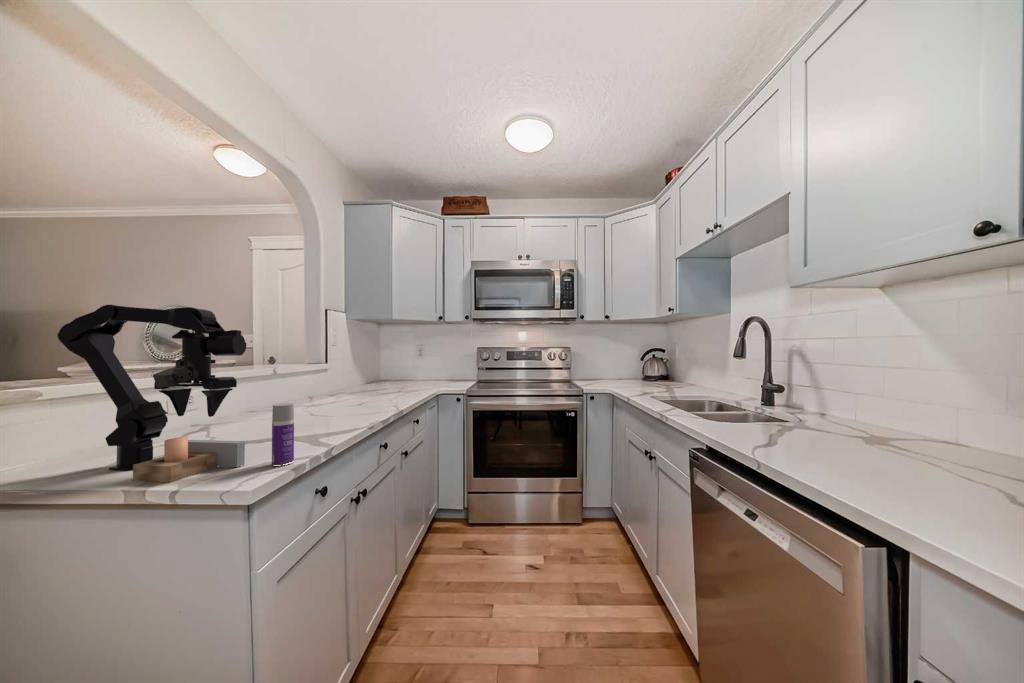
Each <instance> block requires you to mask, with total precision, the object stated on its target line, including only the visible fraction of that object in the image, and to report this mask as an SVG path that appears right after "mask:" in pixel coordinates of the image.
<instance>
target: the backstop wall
mask: <svg viewBox="0 0 1024 683" xmlns="http://www.w3.org/2000/svg"><path fill="white" fill-rule="evenodd" d="M245 444H246V442H245V441H244V440H219V439H218V440H215V439H212V440H211V439H205V440H204V439H188V452H198V453H216V466H219V467H218V468H228V467H238V468H240V467H239V466H241V465H244V464H245V460H246V459H245V456H246V455H245V450H246V445H245ZM244 466H245V465H244ZM241 467H242V466H241Z"/></svg>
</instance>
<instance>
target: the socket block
mask: <svg viewBox="0 0 1024 683" xmlns="http://www.w3.org/2000/svg"><path fill="white" fill-rule="evenodd" d="M214 467H216V453H198V452H188V459H185V460H182V461H178V462H175V463H167V462H164V456H162V457H161V456H160V457H158V458H153V460H150V461H146V462H142V463H138V464H134V465H133V469H132V481H133V480H137V481H136V482H152V483H153V482H155V483H174V482H176V480H177V481H180V480H182V479H181V478H183V479H184V478H185V477H186V478H188V476H189V477H192V476H194V474H195V475H197V473H198V474H201V473H203V471H204V472H206V470H207V471H209V469H210V470H212V469H211V468H213V469H215V468H214ZM216 468H217V467H216ZM200 472H201V473H200ZM191 475H192V476H191ZM186 478H185V479H186ZM179 479H180V480H179Z"/></svg>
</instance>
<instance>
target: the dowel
mask: <svg viewBox="0 0 1024 683" xmlns="http://www.w3.org/2000/svg"><path fill="white" fill-rule="evenodd" d="M188 440H189V437H187V436H181V437H174V438H173V437H172V438H169V439H166V440H164V441H163V442H164V450H163V452H164V456H163V457H164V462H167V463H175V462H178V461H182V460H185V459H188Z"/></svg>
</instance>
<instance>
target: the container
mask: <svg viewBox="0 0 1024 683" xmlns="http://www.w3.org/2000/svg"><path fill="white" fill-rule="evenodd" d="M294 408H295V407H294V403H292V402H291V403H289V402H287V403H275V404H273V405H272V417H271V418H272V419H271V420H272V421H271V466H272V465H283V464H286V463H289V462H292V461H293V460H294V461H295V414H294V412H295V411H294V410H295V409H294Z"/></svg>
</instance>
